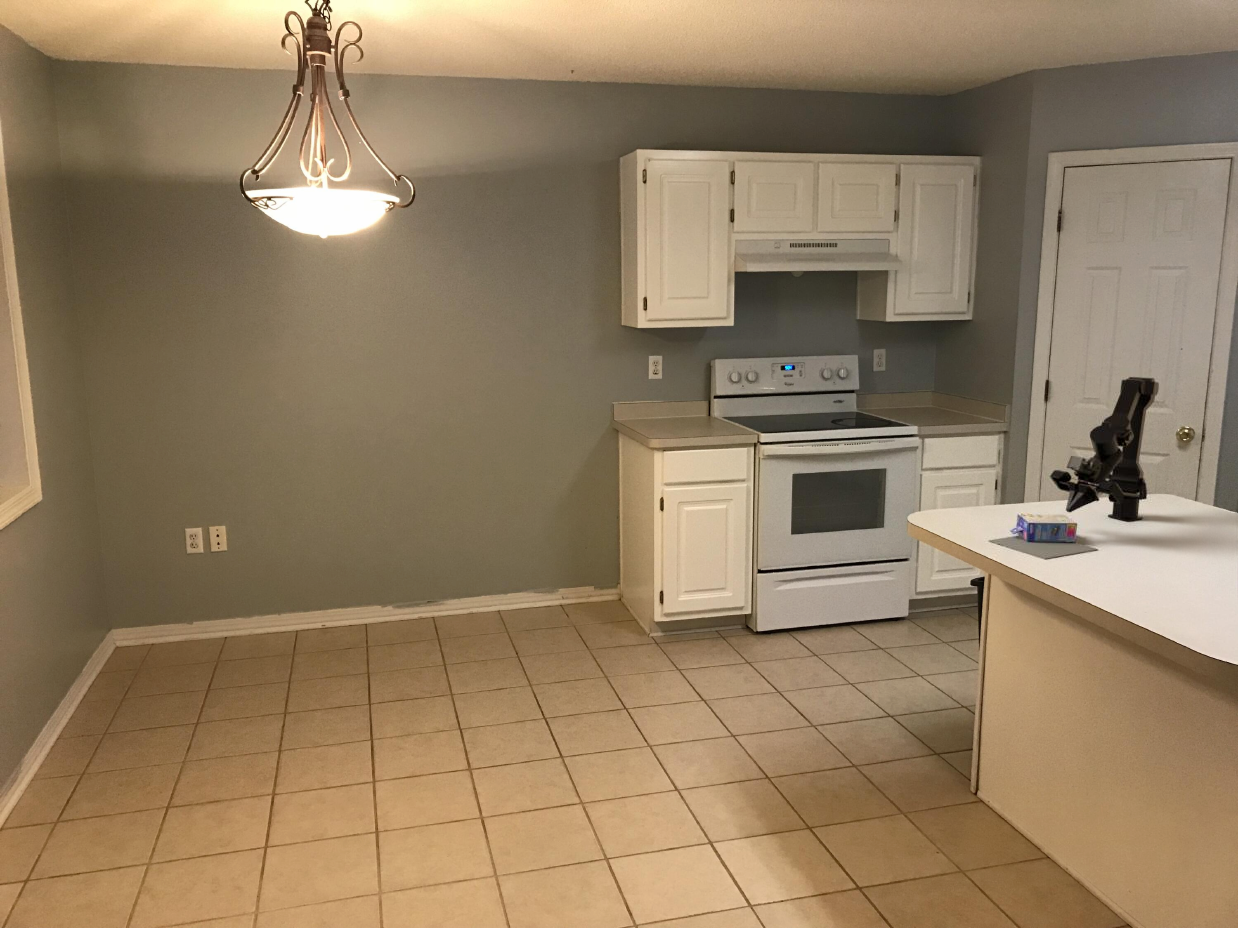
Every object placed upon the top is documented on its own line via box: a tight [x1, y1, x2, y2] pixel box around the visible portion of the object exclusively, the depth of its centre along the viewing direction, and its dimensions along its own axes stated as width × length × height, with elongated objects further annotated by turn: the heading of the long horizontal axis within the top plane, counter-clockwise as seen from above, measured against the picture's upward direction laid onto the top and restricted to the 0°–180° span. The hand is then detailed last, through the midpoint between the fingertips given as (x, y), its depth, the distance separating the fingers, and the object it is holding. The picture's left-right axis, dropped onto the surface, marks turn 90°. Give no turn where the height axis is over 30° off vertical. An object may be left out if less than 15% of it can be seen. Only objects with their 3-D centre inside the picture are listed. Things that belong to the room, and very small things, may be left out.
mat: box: [988, 534, 1099, 560], centre depth 249 cm, size 18×18×1 cm
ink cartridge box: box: [1009, 513, 1078, 543], centre depth 255 cm, size 10×6×14 cm
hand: (1067, 511), depth 251 cm, fingers closed
